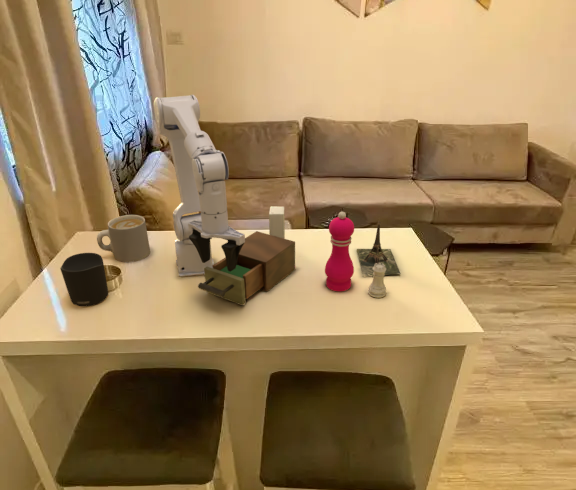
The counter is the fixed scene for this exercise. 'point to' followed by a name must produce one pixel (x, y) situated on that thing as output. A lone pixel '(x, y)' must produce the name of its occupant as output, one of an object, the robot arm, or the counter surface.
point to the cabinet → (270, 256)
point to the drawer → (233, 281)
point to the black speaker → (85, 279)
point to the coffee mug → (126, 238)
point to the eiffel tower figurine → (377, 258)
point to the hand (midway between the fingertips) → (218, 265)
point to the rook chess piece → (378, 282)
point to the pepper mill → (340, 254)
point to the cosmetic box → (277, 221)
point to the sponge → (236, 271)
